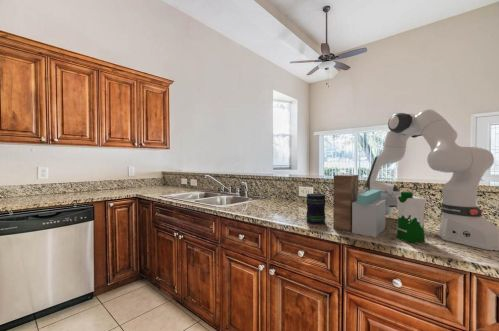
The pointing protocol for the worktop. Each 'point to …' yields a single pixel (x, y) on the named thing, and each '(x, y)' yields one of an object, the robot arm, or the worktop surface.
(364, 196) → the teal tile
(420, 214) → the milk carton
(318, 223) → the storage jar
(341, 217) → the brown tall block
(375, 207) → the grey step
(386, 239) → the worktop surface
